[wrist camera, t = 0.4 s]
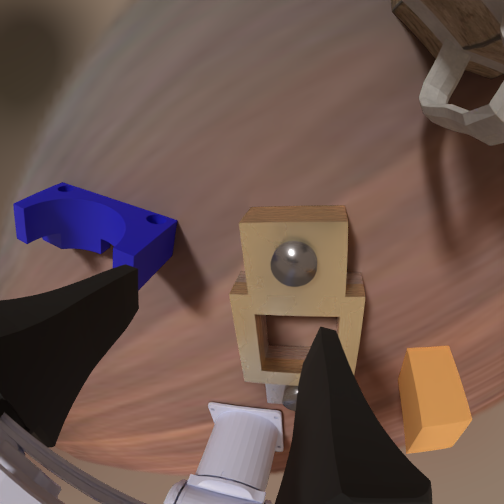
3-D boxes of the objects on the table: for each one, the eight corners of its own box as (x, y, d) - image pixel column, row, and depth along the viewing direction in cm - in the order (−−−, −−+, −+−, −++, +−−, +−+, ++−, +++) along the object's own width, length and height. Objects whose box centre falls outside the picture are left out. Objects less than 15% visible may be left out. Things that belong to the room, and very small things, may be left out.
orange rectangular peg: (436, 376, 22) (451, 447, 15) (397, 379, 23) (406, 453, 16) (448, 345, 21) (472, 419, 14) (407, 348, 22) (422, 427, 15)
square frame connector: (345, 394, 25) (344, 424, 22) (257, 389, 27) (249, 418, 24) (364, 205, 18) (372, 225, 15) (232, 207, 20) (214, 227, 17)
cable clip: (64, 226, 25) (19, 254, 19) (63, 181, 22) (13, 203, 17) (171, 270, 24) (132, 314, 18) (178, 219, 21) (133, 256, 16)
